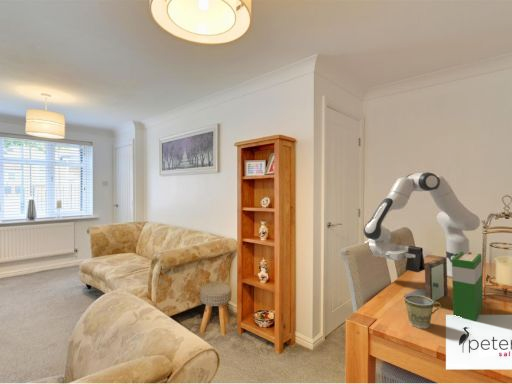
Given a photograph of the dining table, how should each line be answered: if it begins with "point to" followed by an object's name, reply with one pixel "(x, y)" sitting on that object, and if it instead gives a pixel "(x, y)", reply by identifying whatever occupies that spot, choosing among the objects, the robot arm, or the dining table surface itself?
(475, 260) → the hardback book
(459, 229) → the robot arm
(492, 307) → the dining table surface
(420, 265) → the door stopper
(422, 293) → the threshold mat
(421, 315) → the ceramic cup
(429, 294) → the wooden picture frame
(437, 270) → the door
